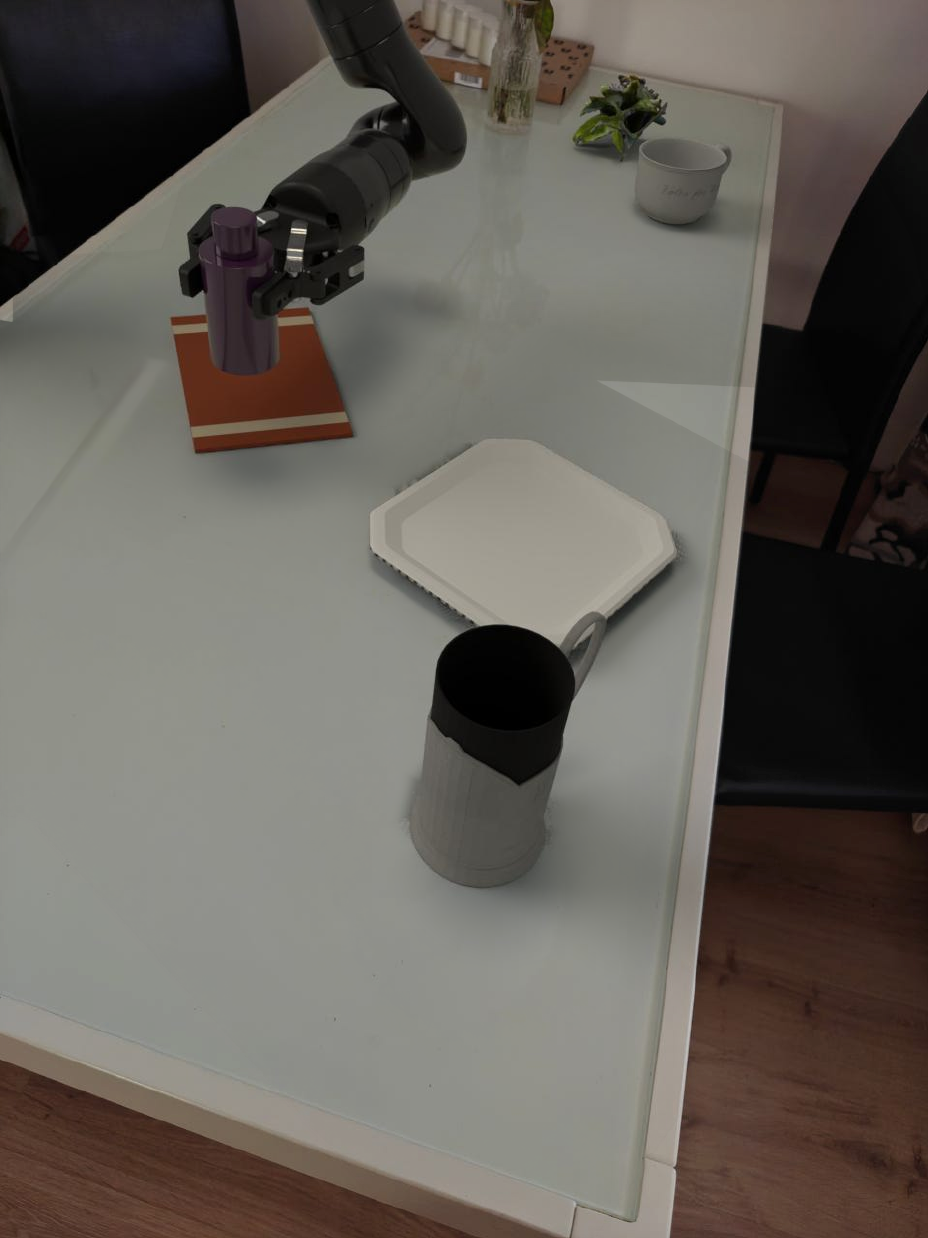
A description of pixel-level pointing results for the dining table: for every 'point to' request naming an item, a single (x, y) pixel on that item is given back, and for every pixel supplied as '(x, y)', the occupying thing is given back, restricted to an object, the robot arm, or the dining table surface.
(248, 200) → the dining table surface
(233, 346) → the bottle
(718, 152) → the teacup
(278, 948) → the dining table surface
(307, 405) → the towel
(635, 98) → the green leafy clump
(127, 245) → the dining table surface
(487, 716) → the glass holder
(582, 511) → the plate
